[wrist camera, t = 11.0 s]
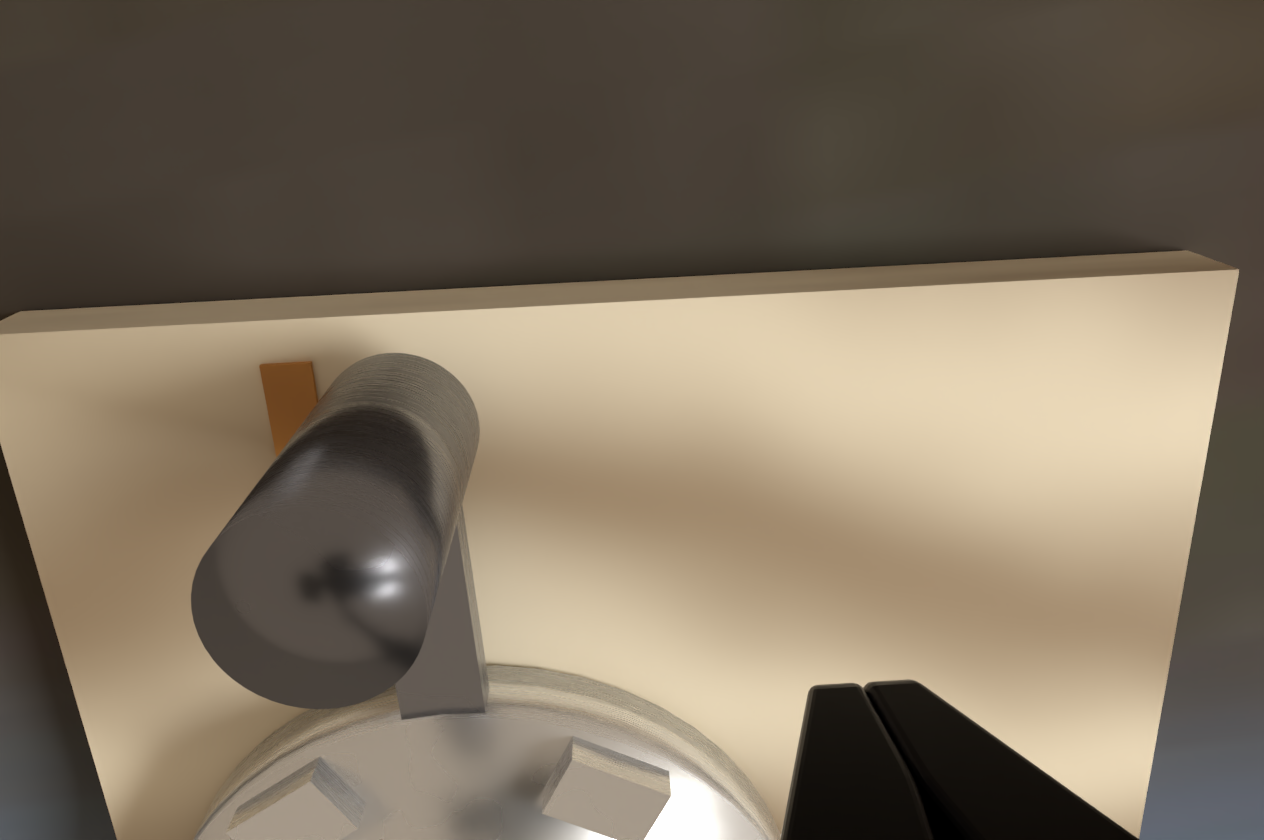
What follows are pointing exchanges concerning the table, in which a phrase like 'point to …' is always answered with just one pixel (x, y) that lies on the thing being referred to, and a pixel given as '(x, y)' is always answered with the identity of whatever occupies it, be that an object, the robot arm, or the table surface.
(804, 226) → the table surface
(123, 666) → the base plate
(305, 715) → the grey metal part
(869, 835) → the robot arm
